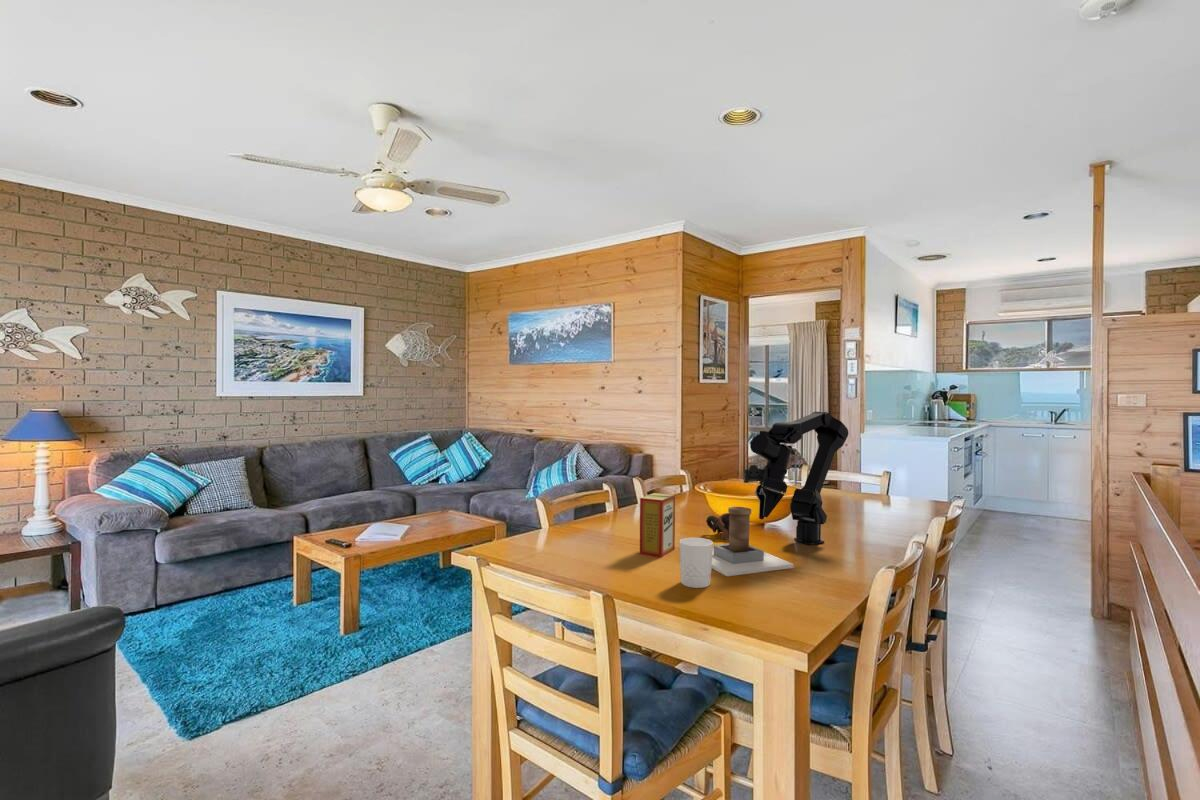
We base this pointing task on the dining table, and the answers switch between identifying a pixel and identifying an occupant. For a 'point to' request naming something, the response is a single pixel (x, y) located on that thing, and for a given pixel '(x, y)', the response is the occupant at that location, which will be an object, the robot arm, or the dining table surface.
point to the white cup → (695, 561)
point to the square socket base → (745, 561)
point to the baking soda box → (657, 524)
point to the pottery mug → (720, 524)
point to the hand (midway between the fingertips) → (763, 518)
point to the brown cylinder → (739, 529)
